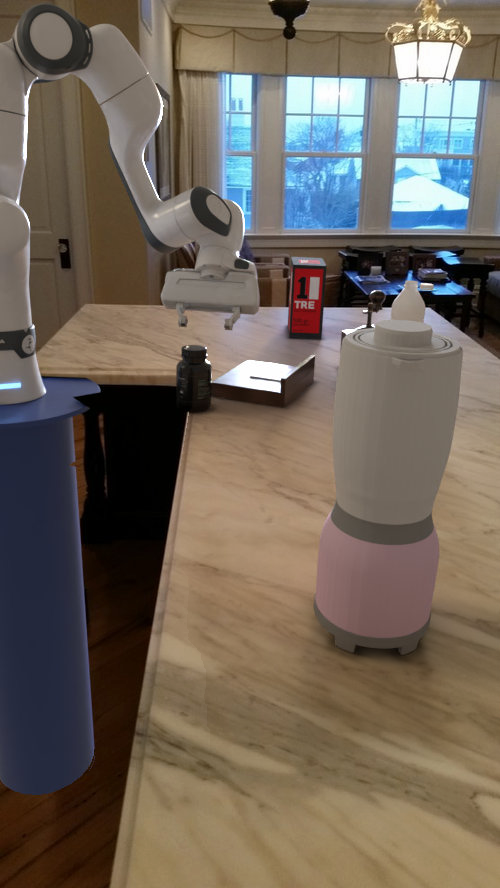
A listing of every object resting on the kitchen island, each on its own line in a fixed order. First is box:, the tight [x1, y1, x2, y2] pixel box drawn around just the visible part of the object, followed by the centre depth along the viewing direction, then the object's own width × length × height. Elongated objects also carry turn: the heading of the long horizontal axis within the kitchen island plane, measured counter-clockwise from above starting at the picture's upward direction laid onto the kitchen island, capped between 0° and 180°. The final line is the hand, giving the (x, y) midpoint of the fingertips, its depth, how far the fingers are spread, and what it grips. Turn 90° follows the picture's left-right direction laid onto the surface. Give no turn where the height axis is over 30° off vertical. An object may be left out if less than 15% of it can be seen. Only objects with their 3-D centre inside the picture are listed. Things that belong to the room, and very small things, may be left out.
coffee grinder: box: [339, 289, 387, 355], centre depth 163 cm, size 16×11×18 cm
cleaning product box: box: [287, 256, 327, 340], centre depth 199 cm, size 16×9×20 cm, turn 179°
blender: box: [313, 319, 464, 656], centre depth 71 cm, size 16×12×32 cm
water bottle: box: [389, 279, 435, 323], centre depth 139 cm, size 9×6×25 cm
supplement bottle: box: [175, 344, 213, 414], centre depth 136 cm, size 7×7×12 cm
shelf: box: [212, 354, 316, 408], centre depth 150 cm, size 16×20×6 cm
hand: (205, 327), depth 142 cm, fingers open, 8 cm apart
